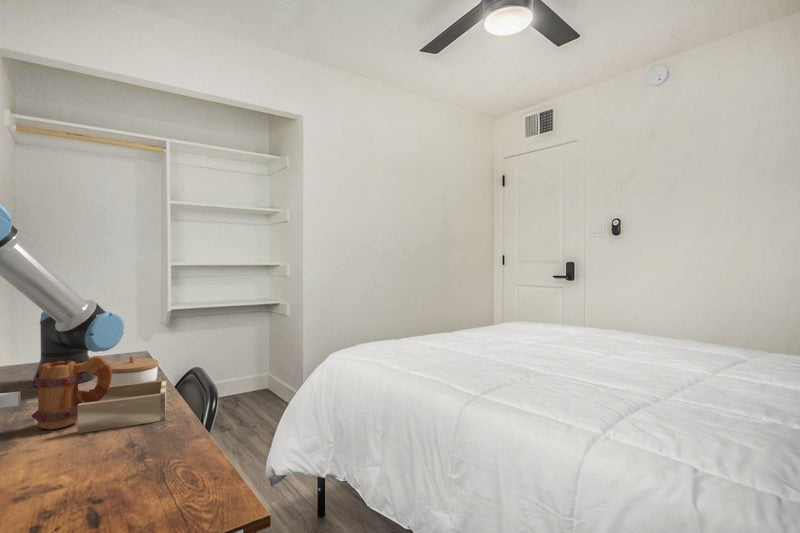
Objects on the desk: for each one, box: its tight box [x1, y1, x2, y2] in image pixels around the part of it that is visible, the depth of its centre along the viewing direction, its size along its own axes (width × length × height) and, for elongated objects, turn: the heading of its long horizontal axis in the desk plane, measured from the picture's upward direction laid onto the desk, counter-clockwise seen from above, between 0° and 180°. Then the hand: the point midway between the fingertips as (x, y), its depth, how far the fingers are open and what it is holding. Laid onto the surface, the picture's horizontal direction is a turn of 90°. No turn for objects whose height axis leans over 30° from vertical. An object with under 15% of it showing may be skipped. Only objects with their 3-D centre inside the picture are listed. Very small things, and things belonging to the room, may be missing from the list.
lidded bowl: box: [109, 355, 159, 386], centre depth 117 cm, size 13×13×11 cm
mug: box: [31, 355, 112, 430], centre depth 96 cm, size 15×8×15 cm, turn 117°
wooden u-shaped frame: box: [77, 379, 167, 434], centre depth 101 cm, size 15×16×6 cm
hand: (19, 398), depth 92 cm, fingers closed
